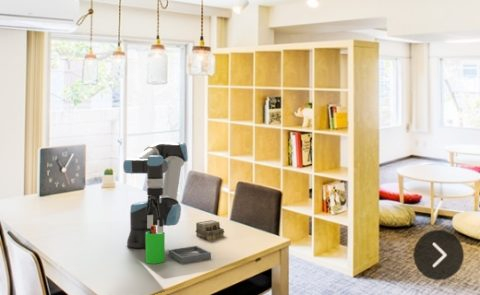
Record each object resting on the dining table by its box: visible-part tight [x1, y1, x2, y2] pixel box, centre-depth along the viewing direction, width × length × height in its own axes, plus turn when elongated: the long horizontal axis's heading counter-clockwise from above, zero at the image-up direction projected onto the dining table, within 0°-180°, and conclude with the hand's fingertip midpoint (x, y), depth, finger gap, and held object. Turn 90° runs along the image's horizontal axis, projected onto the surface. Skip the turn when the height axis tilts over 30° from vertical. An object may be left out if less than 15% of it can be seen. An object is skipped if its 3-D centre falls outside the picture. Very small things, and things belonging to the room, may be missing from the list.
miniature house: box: [195, 219, 225, 241], centre depth 237 cm, size 15×14×11 cm
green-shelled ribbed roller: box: [145, 225, 166, 265], centre depth 200 cm, size 9×8×18 cm
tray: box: [168, 245, 212, 265], centre depth 207 cm, size 16×16×3 cm
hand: (155, 230), depth 200 cm, fingers open, 13 cm apart
